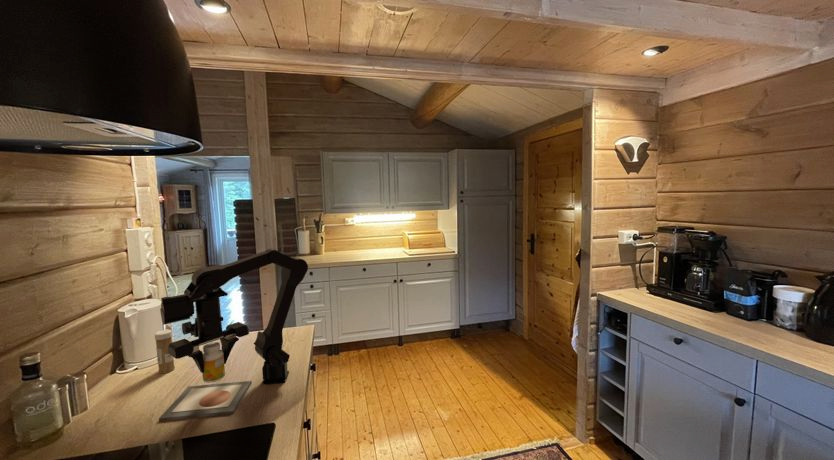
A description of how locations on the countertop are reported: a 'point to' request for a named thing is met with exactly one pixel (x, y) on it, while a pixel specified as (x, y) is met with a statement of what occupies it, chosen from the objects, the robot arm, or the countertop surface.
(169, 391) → the countertop surface
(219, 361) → the supplement bottle
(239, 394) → the grey bordered rectangular panel
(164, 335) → the sprinkles bottle
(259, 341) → the robot arm
